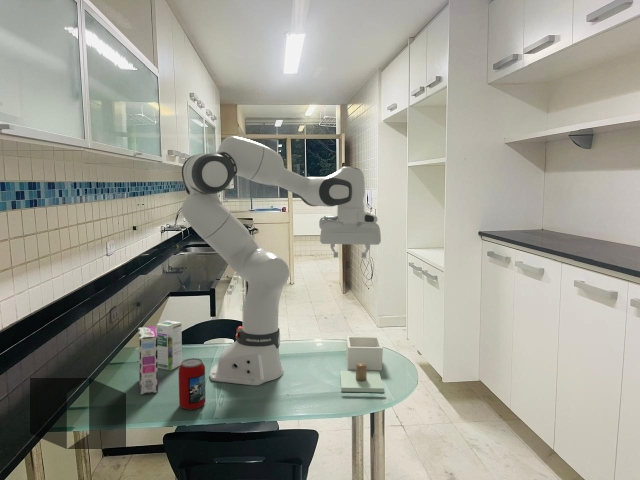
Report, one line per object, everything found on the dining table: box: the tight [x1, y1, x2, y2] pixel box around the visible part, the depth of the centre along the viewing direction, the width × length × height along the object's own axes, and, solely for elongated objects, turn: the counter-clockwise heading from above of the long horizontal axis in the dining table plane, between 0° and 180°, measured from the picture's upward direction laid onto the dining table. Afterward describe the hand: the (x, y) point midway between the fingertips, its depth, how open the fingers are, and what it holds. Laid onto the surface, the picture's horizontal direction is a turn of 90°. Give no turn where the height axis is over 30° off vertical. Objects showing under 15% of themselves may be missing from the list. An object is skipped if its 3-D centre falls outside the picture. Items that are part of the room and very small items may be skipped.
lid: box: [339, 363, 385, 394], centre depth 135 cm, size 12×12×7 cm
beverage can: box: [178, 357, 206, 411], centre depth 121 cm, size 7×7×12 cm
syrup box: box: [155, 320, 183, 372], centre depth 147 cm, size 6×6×14 cm
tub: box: [345, 335, 384, 371], centre depth 150 cm, size 11×11×8 cm
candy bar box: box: [137, 325, 159, 396], centre depth 132 cm, size 11×5×16 cm, turn 23°
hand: (349, 257), depth 153 cm, fingers open, 8 cm apart
